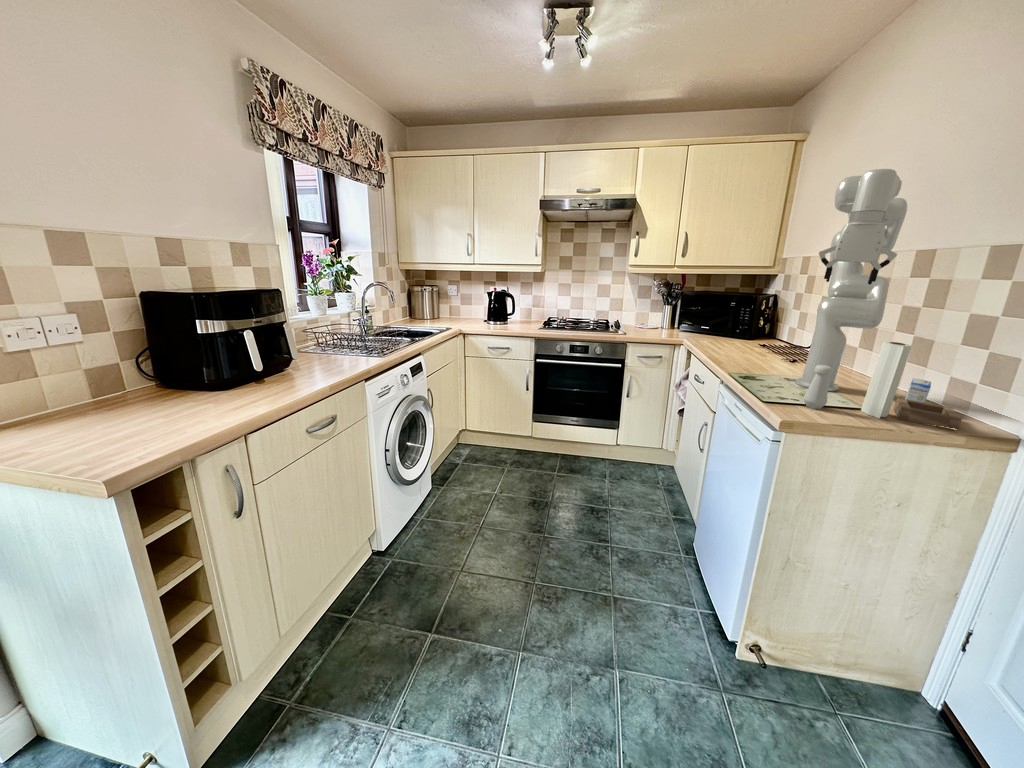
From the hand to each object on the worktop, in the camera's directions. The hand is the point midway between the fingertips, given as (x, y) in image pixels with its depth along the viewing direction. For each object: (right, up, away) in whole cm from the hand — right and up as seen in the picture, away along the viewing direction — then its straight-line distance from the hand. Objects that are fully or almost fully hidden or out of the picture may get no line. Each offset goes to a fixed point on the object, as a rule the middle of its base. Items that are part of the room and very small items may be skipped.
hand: (847, 283), depth 118 cm
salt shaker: (-6, -36, +6) cm, 37 cm away
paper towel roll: (+9, -38, +3) cm, 40 cm away
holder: (+22, -39, +1) cm, 45 cm away
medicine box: (+29, -37, +10) cm, 48 cm away
